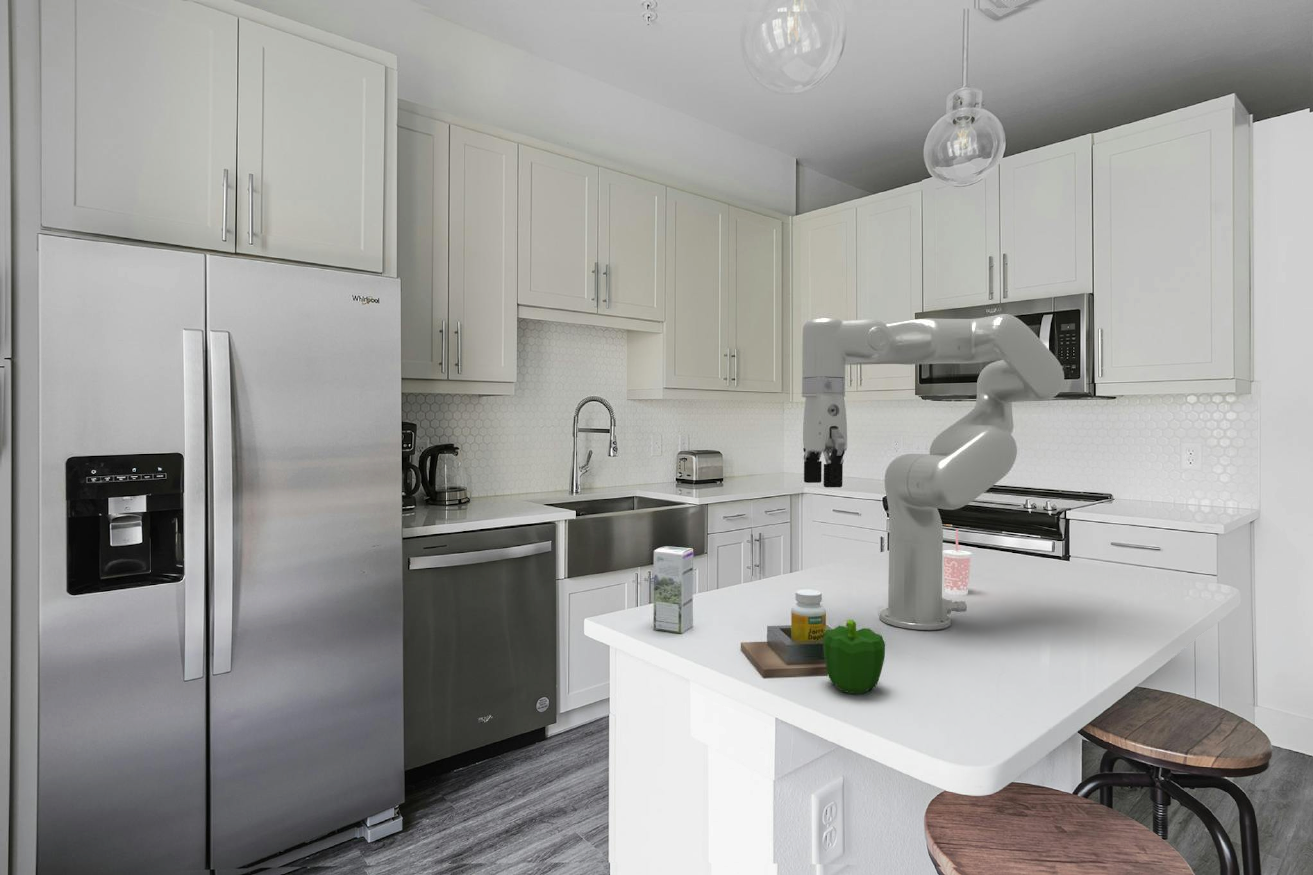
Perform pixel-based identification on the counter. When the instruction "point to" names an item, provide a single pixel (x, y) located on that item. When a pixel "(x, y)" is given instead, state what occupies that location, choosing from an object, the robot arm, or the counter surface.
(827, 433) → the robot arm
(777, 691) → the counter surface
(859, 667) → the bell pepper
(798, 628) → the supplement bottle
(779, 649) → the socket collar
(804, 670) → the docking plate
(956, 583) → the beverage cup
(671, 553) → the syrup box
